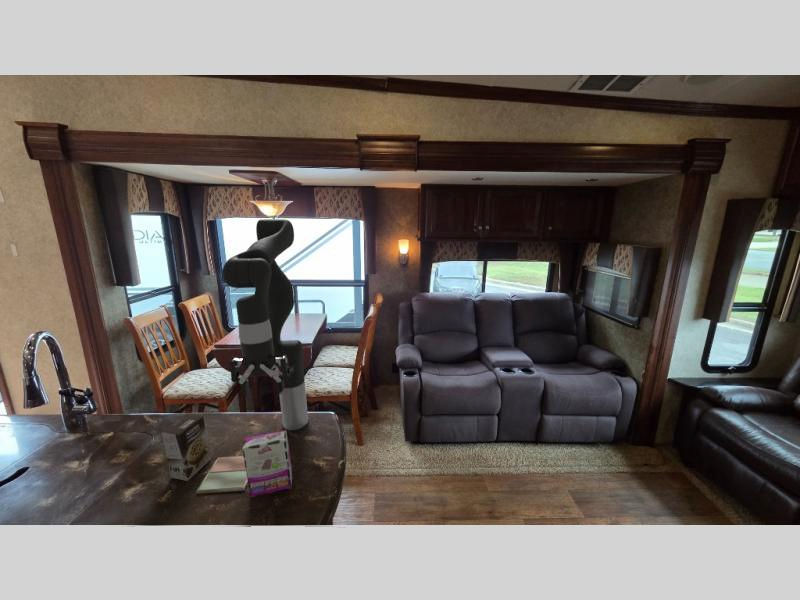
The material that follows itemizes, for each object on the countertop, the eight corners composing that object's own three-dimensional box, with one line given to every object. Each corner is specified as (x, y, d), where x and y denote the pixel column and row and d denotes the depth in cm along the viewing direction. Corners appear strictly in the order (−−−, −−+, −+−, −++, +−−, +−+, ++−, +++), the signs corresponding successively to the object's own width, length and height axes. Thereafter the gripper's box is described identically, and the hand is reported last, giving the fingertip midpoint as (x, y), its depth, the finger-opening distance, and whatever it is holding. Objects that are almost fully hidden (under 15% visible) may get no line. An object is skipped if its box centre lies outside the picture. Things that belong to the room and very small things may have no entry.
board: (218, 459, 101) (218, 457, 101) (259, 456, 102) (259, 454, 102) (196, 493, 88) (196, 490, 88) (244, 490, 90) (243, 487, 89)
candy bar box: (292, 475, 95) (287, 429, 90) (291, 488, 90) (286, 440, 86) (252, 484, 92) (245, 436, 87) (249, 498, 87) (241, 448, 83)
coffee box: (188, 481, 93) (178, 435, 89) (170, 478, 94) (159, 432, 90) (212, 459, 101) (204, 415, 97) (195, 456, 103) (186, 413, 98)
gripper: (288, 330, 84) (294, 385, 88) (233, 332, 83) (241, 387, 87) (280, 341, 76) (287, 400, 81) (220, 343, 75) (229, 403, 79)
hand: (263, 393), depth 84 cm, fingers open, 8 cm apart
